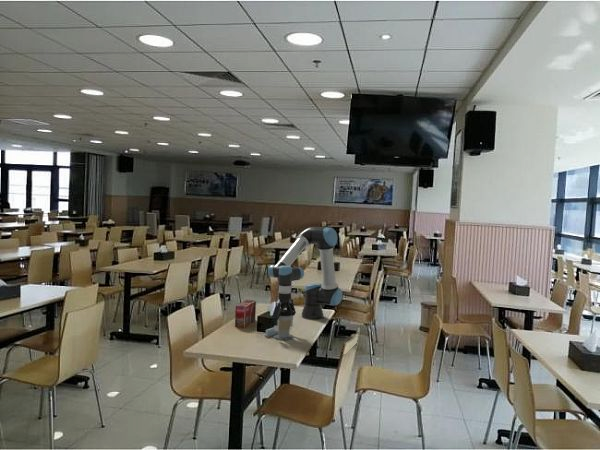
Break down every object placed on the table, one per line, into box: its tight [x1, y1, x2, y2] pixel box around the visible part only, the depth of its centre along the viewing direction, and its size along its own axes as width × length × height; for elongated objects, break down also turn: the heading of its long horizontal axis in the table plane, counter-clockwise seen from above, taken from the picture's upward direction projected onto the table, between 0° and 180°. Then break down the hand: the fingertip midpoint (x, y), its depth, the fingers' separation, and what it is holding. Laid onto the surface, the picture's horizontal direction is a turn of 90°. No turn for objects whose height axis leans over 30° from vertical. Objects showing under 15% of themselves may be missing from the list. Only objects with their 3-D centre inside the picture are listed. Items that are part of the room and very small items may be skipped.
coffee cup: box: [277, 308, 292, 338], centre depth 274 cm, size 9×9×15 cm
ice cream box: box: [234, 299, 257, 329], centre depth 302 cm, size 20×6×13 cm, turn 166°
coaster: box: [272, 333, 294, 341], centre depth 274 cm, size 12×12×1 cm
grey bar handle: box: [263, 327, 278, 338], centre depth 281 cm, size 16×3×4 cm, turn 145°
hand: (283, 328), depth 274 cm, fingers open, 13 cm apart
